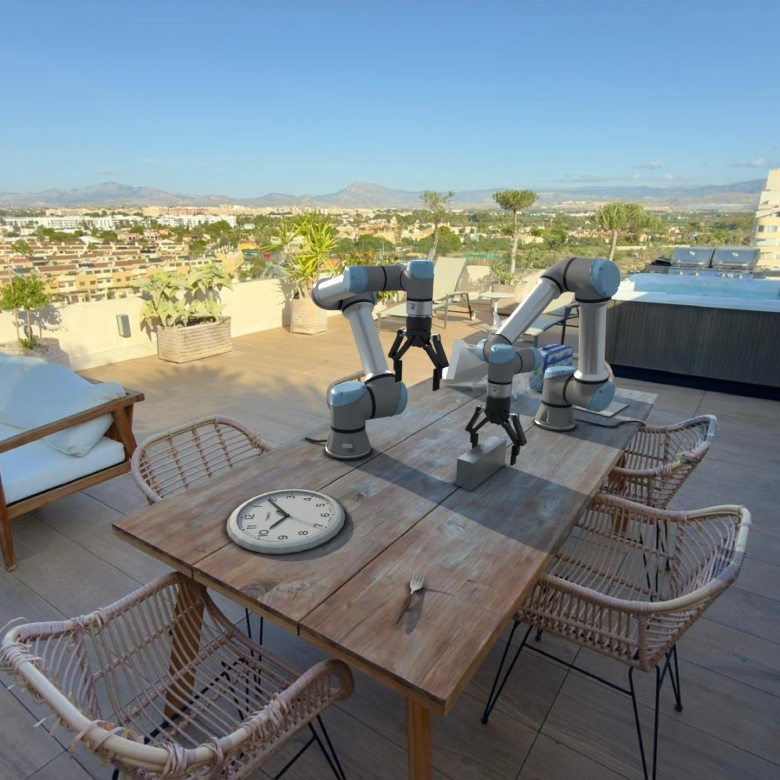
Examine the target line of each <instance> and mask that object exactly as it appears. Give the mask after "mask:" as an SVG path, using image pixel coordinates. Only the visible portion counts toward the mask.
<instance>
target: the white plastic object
mask: <svg viewBox="0 0 780 780" xmlns="http://www.w3.org/2000/svg"><path fill="white" fill-rule="evenodd" d="M492 315H493V319H494V321H495V324H496V325H495V326H496V328H497V331H498V330H499V329H500V328H501V326H502V325H503V324H502V321H501V318H500V315H499V314H498V312H497V311H496V310H495V311H492ZM476 347H477V345H473V346H469V345H468V343H466V342H465V340H464V339H463V338H460V339H458V338H454V340H453V344H452V349H451V353H450V357H449V360H448V363H449V366H448V367H446V368H443V374H442V379H441V380H440V381H442V383H443V384H444V385H445V386H449V385H458V384H467V383H468V384H469V383H473V384H477V383H480V382H482V381H484V378H485V377H486V376H488V366H489V363H486V362H484V361H482V360H480V359H479V358H478V357H477V355H476ZM517 376H518V380H519V382H520V385H521V389H522V391H523V393H524V395H525V396H526V397H528V396H531V395H530V390H529V388H528V387H529V386H528V384H527V381H526V378H525V375H524V373H520V374H517ZM516 391H517V390H516V388H515V385H514V381H513V380H512V392H511V396H512V397H513V398H514V399H515V400H517V392H516Z"/></svg>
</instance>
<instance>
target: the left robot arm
mask: <svg viewBox="0 0 780 780" xmlns="http://www.w3.org/2000/svg"><path fill="white" fill-rule="evenodd" d="M434 266H435V265H434V262H433V261H432V260H431V259H430V260H429V259H410V260H408V262H407V264H404V263H403V264H402V263H393V264H389V265H388V264H386V265H383V264H381V265H356V264H355V265H350V266H349V265H348V266H347V267H345V268H344V271H343V273H341V274H338V275H336V276H334V277H322V278H320V279H318V280H316V281H315V282H313V284H312V285H311V287H310V290H309V291H310V293H309V294H310V299H311V300H312V302H313V304H314V305H315V306H316V307H318V308H320V309H322V310H325V311H341V313H342V316H343V318H344V319H347V320H348V322H349V324H350V325H349V326H350V328H351V332H352V336H353V338H354V342H355V346H356V350H357V352H358V356H359V359H360V363H361V366H362V369H363V373H364V377H365V379H364V381H363V382H362V381H358V380H354V381H353V380H350V381H349V380H348V381H344V382H340V383H338V384H336V385H334V386H333V387H332V388H331V390H330V394H329V407H330V408H329V409H330V411H329V412H330V430H329V435H328V437H327V439H313V438H310V437H308V436H307V437H306V436H305V437H304V440H306V441H309V442H313V443H325V453H326V455H327V456H329V457H330V458H333V459H336V460H341V461H353V460H359V459H363V458H366V457H367V456H369V455H370V454H371V451H372V446H371V442H370V439H369V436H368V433H367V430H366V423H367V421H371V420H376V419H383V418H389V417H390V418H391V417H394V416H398V415H401V414H403V413H404V411H405V410H406V408H407V405H408V389H407V385H406V383H404V381H403V359H402V357H403V356H404V355H405V354H406V352H408V350H409V349H410V348H411V347H414V348H415V347H416V348H418V349H422V350H423V351H425V353H426V355H427V356H428V358H429V360H430V361H431V362H432V364H433V366H434V367H435V368H433V369H432V371H433V372H432V387H431V388H432V392H436V391H438V390H440V389H441V387H440V386H441V381H442V380H441V379H442V374H443V369H444V368H446V367H448V366H449V360H448V357H447V355H446V352H445V349H444V346H443V344H442V336H441V334H440V333H436V334H432V328H433V316H432V314H433V300H434V299H433V298H434V282H435V267H434ZM377 292H406V303H405V305H406V308H405V309H406V310H405V312H406V313H405V314H406V316H405V328H406V329H405V328H398V329H397V330H396V336H395V339H394V341H393V343H392V345H391V348H390V350H389V351H388V354H387V357H388V359H391V360H393V361H392V362H393V363H392V364H393V365H392V367H393V368H392V369H393V371H394V372H393V371H390V369H389V364H388V362H387V359H386V354H385V351H384V348H383V346H382V343H381V339H380V335H379V332H378V329H377V326H376V322H375V319H374V316H373V312H374V310H375V307H376V304H377V300H378V298H377ZM405 337H406V340H405V341H404V343H403V340H404V338H405ZM402 343H403V345H402ZM401 345H402V346H401Z"/></svg>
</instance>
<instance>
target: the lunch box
mask: <svg viewBox="0 0 780 780" xmlns="http://www.w3.org/2000/svg"><path fill="white" fill-rule="evenodd" d="M537 349H538V350H539V351H540V352H541V354H542V364H541V366H540V367H539V368H538V369H537V370H534V371H531V372H528V375H529V376H528V387H529V388H528V389H530V390H534V391H539V392H542V391H543V381H544V379H543V378H544V375H545V370H546V369H547V368H549V367H555V366H571V367H573V358H574V349H573V346H571V345H565V344H558V343H553V344H548V345H546V346H542V347H540V348H537Z"/></svg>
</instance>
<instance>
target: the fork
mask: <svg viewBox="0 0 780 780" xmlns="http://www.w3.org/2000/svg"><path fill="white" fill-rule="evenodd" d="M420 570H421V572H420ZM423 570H424V569H420V568H418V572H417V569H415V570H414V573H413V576H412V579H411V581H410V583H409V586H410V590H411V591H410V593H409V594H408V596H407V597H406V598H405V600H404V601H403V603H402V605H401V609H400V612H399V615H398V617H397V620H396V625H398V624H399V622H400V620H401V619H402V617H403V616H404V614H405V613H406V612H407V610H408V608H409V606H410V604H411V600H412V597H413V594H414V592H416V591H419V590H420V589H422V587H423V585H424V581H425V576H426V571H427V570H426V569H425V570H424V574H423ZM416 572H417V574H416ZM419 574H420V575H419ZM422 575H423V576H422Z"/></svg>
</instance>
